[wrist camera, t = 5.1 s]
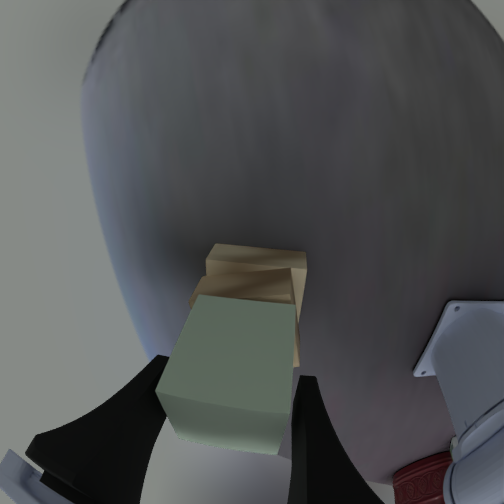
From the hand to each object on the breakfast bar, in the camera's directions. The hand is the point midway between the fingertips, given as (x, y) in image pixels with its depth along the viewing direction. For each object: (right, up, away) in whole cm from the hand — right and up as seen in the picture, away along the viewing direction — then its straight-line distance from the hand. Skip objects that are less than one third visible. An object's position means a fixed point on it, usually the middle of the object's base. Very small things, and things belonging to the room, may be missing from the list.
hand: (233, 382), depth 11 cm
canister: (+32, -32, +20) cm, 50 cm away
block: (0, +1, +3) cm, 3 cm away
